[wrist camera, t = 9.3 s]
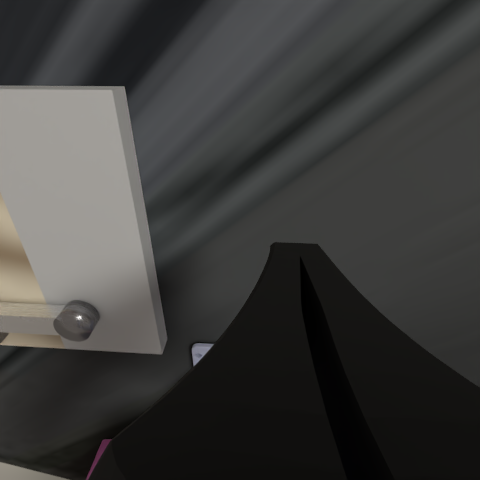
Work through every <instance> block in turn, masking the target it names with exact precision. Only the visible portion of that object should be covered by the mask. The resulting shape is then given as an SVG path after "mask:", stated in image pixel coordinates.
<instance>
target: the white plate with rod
mask: <svg viewBox="0 0 480 480" xmlns="http://www.w3.org/2000/svg"><path fill="white" fill-rule="evenodd" d="M0 193H1V195H2V197H3V200H4V202H5V205H6V207H7V209H8V212H9V214H10V217H11V219H12V221H13V224H14V226H15V229H16V231H17V233H18V236H19V238H20V241H21V243H22V245H23V248H24V250H25V253H26V255H27V258H28V260H29V262H30V265H31V267H32V270H33V272H34V274H35V277H36V279H37V282H38V284H39V286H40V289H41V291H42V294H43V296H44V298H45V301H46V303H47V304H52V305H66V304H67V303H68V302H70V301H73V300H80V301H84V302H87V303H89V304H91V305H92V306H94V307H95V308H96V309H97V311H98V312H99V315H100V319H99V322H98V323H97V325H96V326H95V328H94V330H93V331H92V333H91V335H90V336H89V338H88V339H87V340H85V341H81V342H75V341H70V340H68V339H65V338H63V337H62V336H60V337H61V339H62V342H63V344H64V347H65V349H78V350H95V351H112V352H129V353H145V354H162V353H163V350H164V348H165V345H166V342H167V333H166V327H165V321H164V316H163V310H162V304H161V298H160V292H159V286H158V280H157V274H156V269H155V263H154V257H153V251H152V245H151V239H150V233H149V227H148V222H147V216H146V210H145V204H144V198H143V192H142V186H141V180H140V174H139V169H138V163H137V157H136V151H135V145H134V139H133V133H132V127H131V122H130V116H129V110H128V104H127V98H126V92H125V86H0Z"/></svg>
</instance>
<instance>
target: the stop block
mask: <svg viewBox="0 0 480 480" xmlns="http://www.w3.org/2000/svg"><path fill="white" fill-rule="evenodd" d="M8 334H9V333H6V332H0V343H1V342H2V341H3V340H4V339H5V338H6V337H7V335H8Z"/></svg>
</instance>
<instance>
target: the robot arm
mask: <svg viewBox="0 0 480 480" xmlns="http://www.w3.org/2000/svg"><path fill="white" fill-rule="evenodd" d="M192 357H193V366H194V367H192V368H191V369H190V370H189V371H188V372H187V373H186V374H185V375H184V376H183V377H182V378H181V379H180V380H179V381H178V382H177V383H176V384H175V385H174V386H173V387H172V388H171V389H170V390H169V391H168V392H167V393H166V394H165V395H163V396H162V397H161V398H160V399H159V400H158V401H157V402H156V403H154V404H153V405H152V406H151V407H150V408H148V409H147V410H146V411H145V412H144V413H142V414H141V415H140V416H139V417H138V418H137V419H135V420H134V421H133V422H132V423H131V424H129V425H128V426H127V427H126V428H125V429H123V430H122V431H121V432H120V433H119V434H117V435H116V436H115V437H114V438H113V439H112V440H110V442H109V444H108V445H107V447H106V448H105V450H104V452H103V454H102V455H101V457H100V459H99V460H98V462H97V464H96V466H95V467H94V469H93V471H92V473H91V475H90V477H89V479H88V480H480V388H479V387H478V386H476V385H475V384H473V383H472V382H470V381H469V380H467V379H466V378H464V377H463V376H461V375H460V374H459V373H457V372H456V371H454V370H453V369H451V368H450V367H449V366H447V365H446V364H444V363H443V362H442V361H440V360H439V359H437V358H436V357H434V356H433V355H432V354H430V353H429V352H428V351H426V350H425V349H424V348H422V347H421V346H420V345H418V344H417V343H416V342H415V341H413V340H412V339H411V338H410V337H409V336H407V335H406V334H405V333H404V332H402V331H401V330H400V329H399V328H398V327H396V326H395V325H394V324H393V323H392V322H390V321H389V320H388V319H387V318H386V317H385V316H384V315H382V314H381V313H380V312H379V311H378V310H377V309H376V308H375V307H374V306H373V305H372V304H371V303H370V302H369V301H368V300H367V299H366V298H365V297H364V296H363V295H362V294H361V293H360V292H359V291H358V290H357V289H356V288H355V287H354V286H353V285H352V284H351V283H350V282H349V280H348V279H347V278H346V277H345V276H344V275H343V274H342V273H341V271H340V270H339V269H338V268H337V267H336V266H335V264H334V263H333V262H332V261H331V260H330V258H329V257H328V256H327V255H326V254H325V252H324V251H323V250H322V249H321V248H320V246H319V245H318V244H305V243H278V242H275V243H273V244H272V245H271V246H270V253H269V257H268V260H267V262H266V265H265V267H264V270H263V272H262V274H261V276H260V278H259V280H258V282H257V284H256V286H255V288H254V289H253V291H252V293H251V294H250V296H249V298H248V299H247V301H246V303H245V304H244V306H243V307H242V309H241V310H240V312H239V313H238V315H237V316H236V317H235V319H234V320H233V321H232V323H231V324H230V325H229V327H228V328H227V329H226V331H225V332H224V333H223V334H222V335H221V337H220V338H219V339H218V340H217V341H216V343H215V344H205V343H196V344H194V345H193V347H192Z"/></svg>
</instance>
